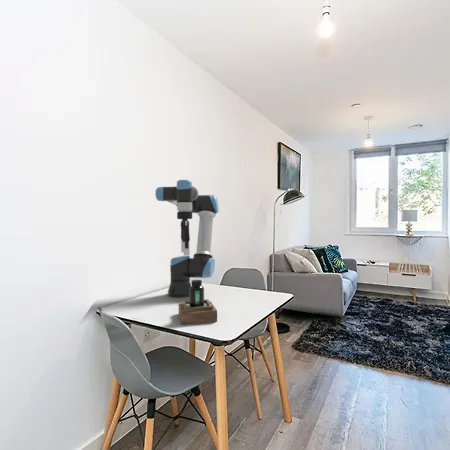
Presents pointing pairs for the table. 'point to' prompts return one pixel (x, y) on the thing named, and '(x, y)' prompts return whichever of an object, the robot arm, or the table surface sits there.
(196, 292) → the supplement bottle
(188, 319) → the stand
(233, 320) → the table surface
